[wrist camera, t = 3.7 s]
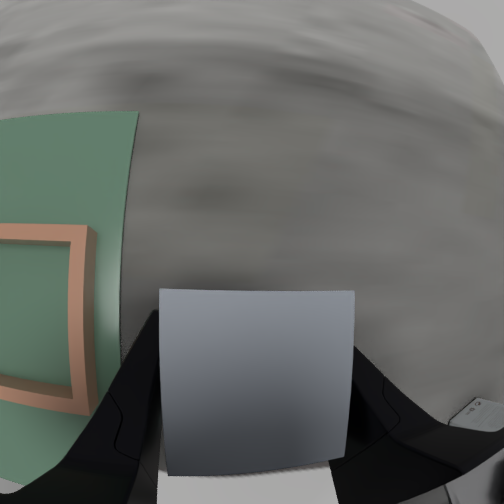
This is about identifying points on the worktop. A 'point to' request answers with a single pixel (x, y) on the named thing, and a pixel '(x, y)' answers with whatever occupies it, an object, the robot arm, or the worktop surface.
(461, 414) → the skincare box
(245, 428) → the grey block
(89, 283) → the green base plate
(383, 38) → the worktop surface
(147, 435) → the robot arm
